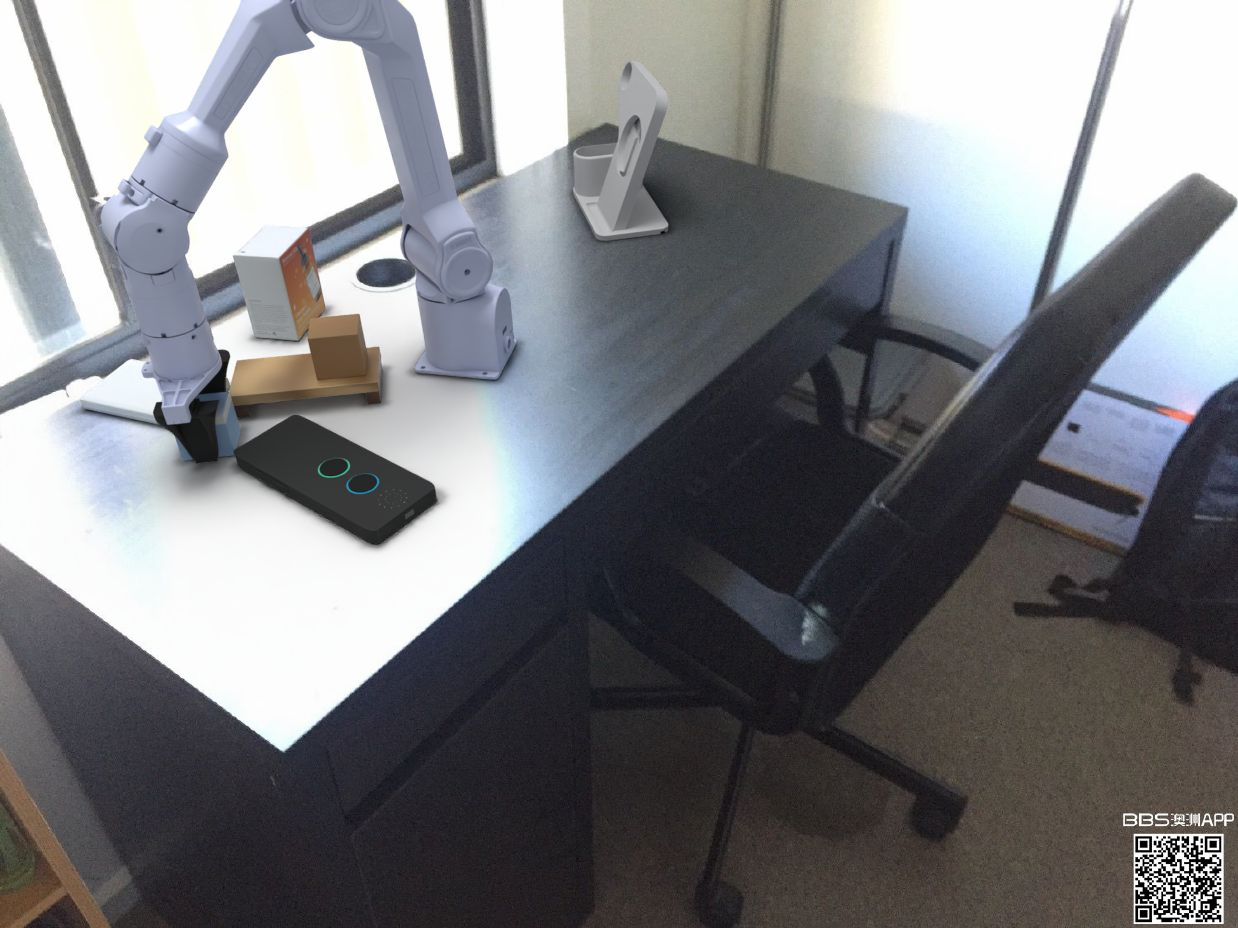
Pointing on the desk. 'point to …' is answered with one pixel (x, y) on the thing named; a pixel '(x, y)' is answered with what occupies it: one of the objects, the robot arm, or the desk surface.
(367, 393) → the wooden stand
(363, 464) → the smart home device
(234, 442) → the blue carton
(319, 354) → the brown carton
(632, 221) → the phone holder
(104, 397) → the hard drive
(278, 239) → the small box
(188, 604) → the desk surface
